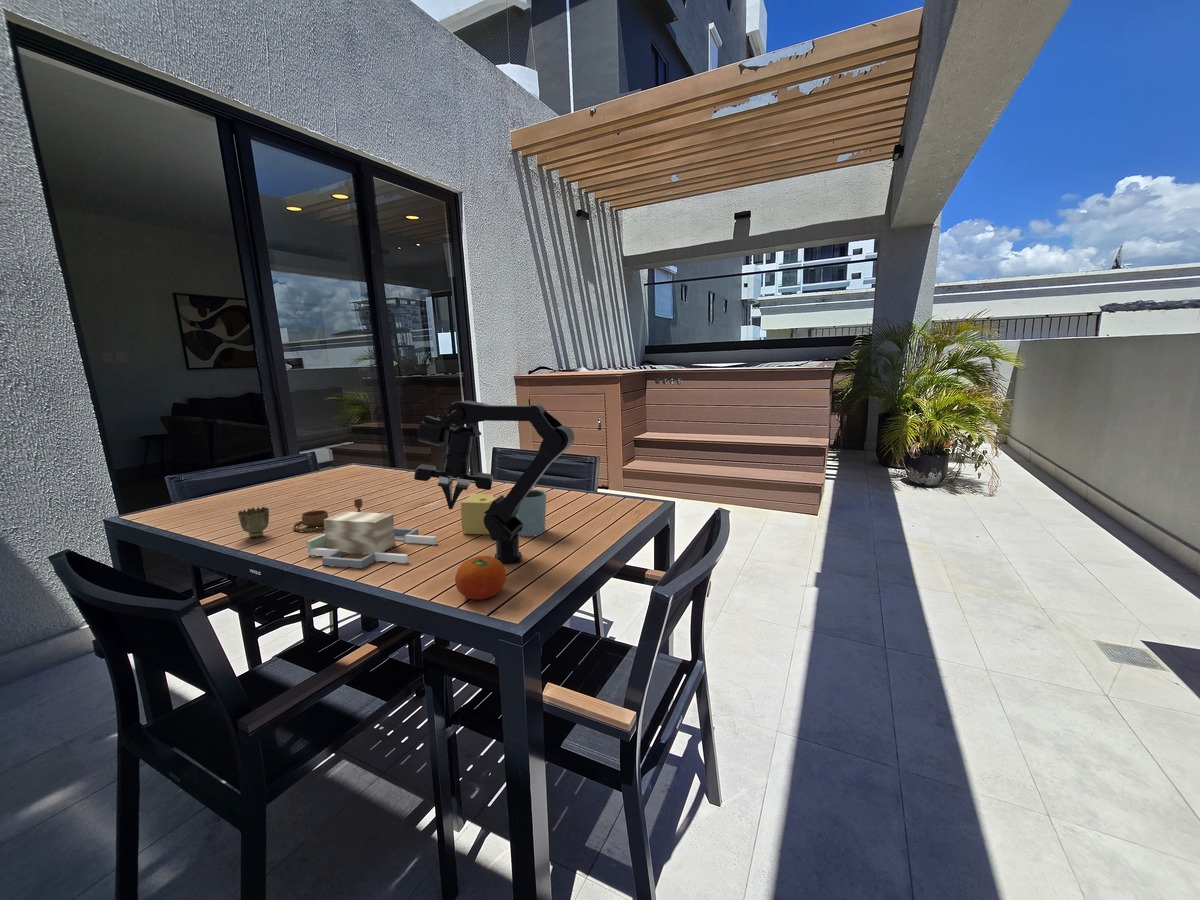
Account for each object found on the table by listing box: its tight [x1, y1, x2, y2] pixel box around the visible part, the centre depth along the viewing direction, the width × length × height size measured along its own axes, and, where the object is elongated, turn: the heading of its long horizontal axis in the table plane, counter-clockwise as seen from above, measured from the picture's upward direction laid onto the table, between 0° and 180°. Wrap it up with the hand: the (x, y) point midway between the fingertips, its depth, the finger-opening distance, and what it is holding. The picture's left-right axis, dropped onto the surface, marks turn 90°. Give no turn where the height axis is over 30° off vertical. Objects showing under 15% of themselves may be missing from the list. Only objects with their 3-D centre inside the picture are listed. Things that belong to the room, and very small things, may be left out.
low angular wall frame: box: [306, 527, 437, 569], centre depth 131 cm, size 28×25×4 cm
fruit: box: [454, 555, 507, 600], centre depth 104 cm, size 11×10×8 cm
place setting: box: [292, 498, 363, 533], centre depth 154 cm, size 18×20×6 cm
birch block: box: [323, 511, 396, 555], centre depth 132 cm, size 15×8×9 cm, turn 80°
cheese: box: [460, 493, 498, 535], centre depth 148 cm, size 10×11×10 cm
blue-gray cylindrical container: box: [516, 489, 547, 537], centre depth 145 cm, size 10×10×12 cm
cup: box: [237, 506, 270, 539], centre depth 142 cm, size 8×7×8 cm
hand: (450, 508), depth 125 cm, fingers closed
